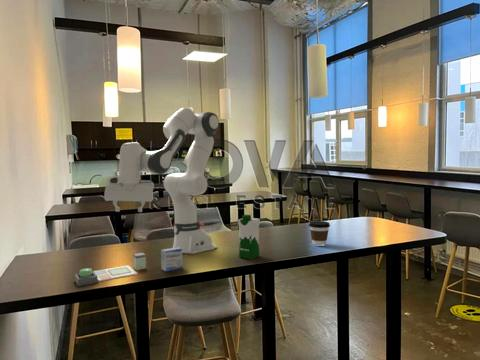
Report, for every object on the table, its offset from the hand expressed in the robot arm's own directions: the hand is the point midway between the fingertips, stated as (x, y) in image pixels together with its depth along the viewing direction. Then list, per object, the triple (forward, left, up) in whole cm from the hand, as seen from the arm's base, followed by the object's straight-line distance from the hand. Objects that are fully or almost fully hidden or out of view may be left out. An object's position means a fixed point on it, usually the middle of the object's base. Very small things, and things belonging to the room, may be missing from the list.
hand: (128, 211), depth 160 cm
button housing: (+20, +10, -24) cm, 33 cm away
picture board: (+9, +6, -24) cm, 26 cm away
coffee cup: (-92, +21, -24) cm, 98 cm away
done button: (+20, +10, -23) cm, 32 cm away
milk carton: (-50, +18, -24) cm, 59 cm away
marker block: (-2, +5, -24) cm, 25 cm away
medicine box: (-13, +14, -24) cm, 31 cm away
